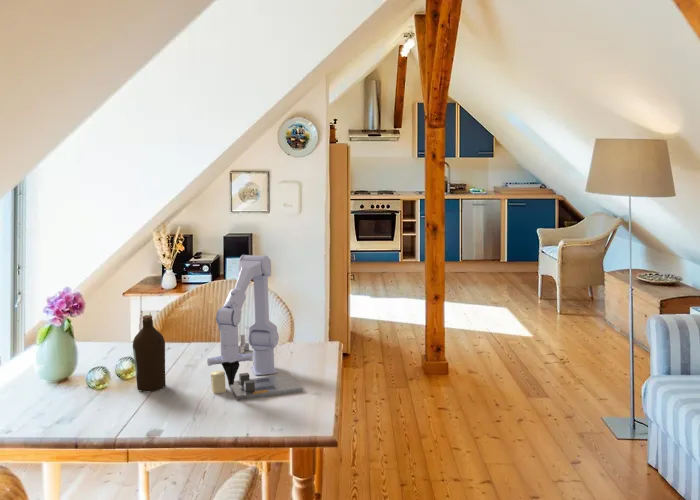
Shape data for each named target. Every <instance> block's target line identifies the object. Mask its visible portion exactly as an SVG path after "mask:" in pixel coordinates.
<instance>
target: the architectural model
mask: <svg viewBox="0 0 700 500" xmlns="http://www.w3.org/2000/svg"><path fill="white" fill-rule="evenodd" d="M245 337H246V335H245V334H240V344H239V345H238V348H239V354H246V353H245V351H250V344H249V342H246V340H247V339H246V338H245Z"/></svg>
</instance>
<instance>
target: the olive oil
mask: <svg viewBox="0 0 700 500" xmlns="http://www.w3.org/2000/svg"><path fill="white" fill-rule="evenodd" d="M132 350H133V351H132V353H133V359H134V361H133V362H134V369H135V376H136V377H135V379H136V380H135V381H136V388H137V390H138V391H140V390H141V391H140V392H144V391H151V392H156V390H157V391H160V389H161V390H162V389H165V387H166V340H165V337H164V336H163V335H162V333H161V332H159V330H157V328H155V327H154V321H153V315H150V314H148V315H147V314H146V315H143V316H142V327H141V329H140V330H139V331H138V333H137V334H136V335H135V336H134V338H133V341H132Z"/></svg>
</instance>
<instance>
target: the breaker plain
mask: <svg viewBox="0 0 700 500" xmlns="http://www.w3.org/2000/svg"><path fill="white" fill-rule="evenodd" d="M238 376H239V382H240V383H241V384H244V381H248V380H250V379H251V378H250V373H249V372H244V373H238Z"/></svg>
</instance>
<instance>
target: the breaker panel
mask: <svg viewBox="0 0 700 500" xmlns="http://www.w3.org/2000/svg"><path fill="white" fill-rule="evenodd" d="M250 380H253V381H254V383H255V390H254V391H247V392H246V391H245V390H244V384H241V383H240V382H239V380H234V385H229V384H228V383H227V384H228V388H229V389H230V391H231V392H232V394H233V396H234V398H235V400H236V401H244V400H250V399H259V398H265V397H267V398H269V397H273V396H280V395H281V396H282V395H289V394H295V393H296V394H298V393H302V392H303V387H302V385H301V384H300V383H299V381H298V380H296V378H295V377H294V376H293V375H292V374H291V373H289V374H280V375H272V376H271V375H270V376H264V377H256V378H250Z"/></svg>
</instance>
